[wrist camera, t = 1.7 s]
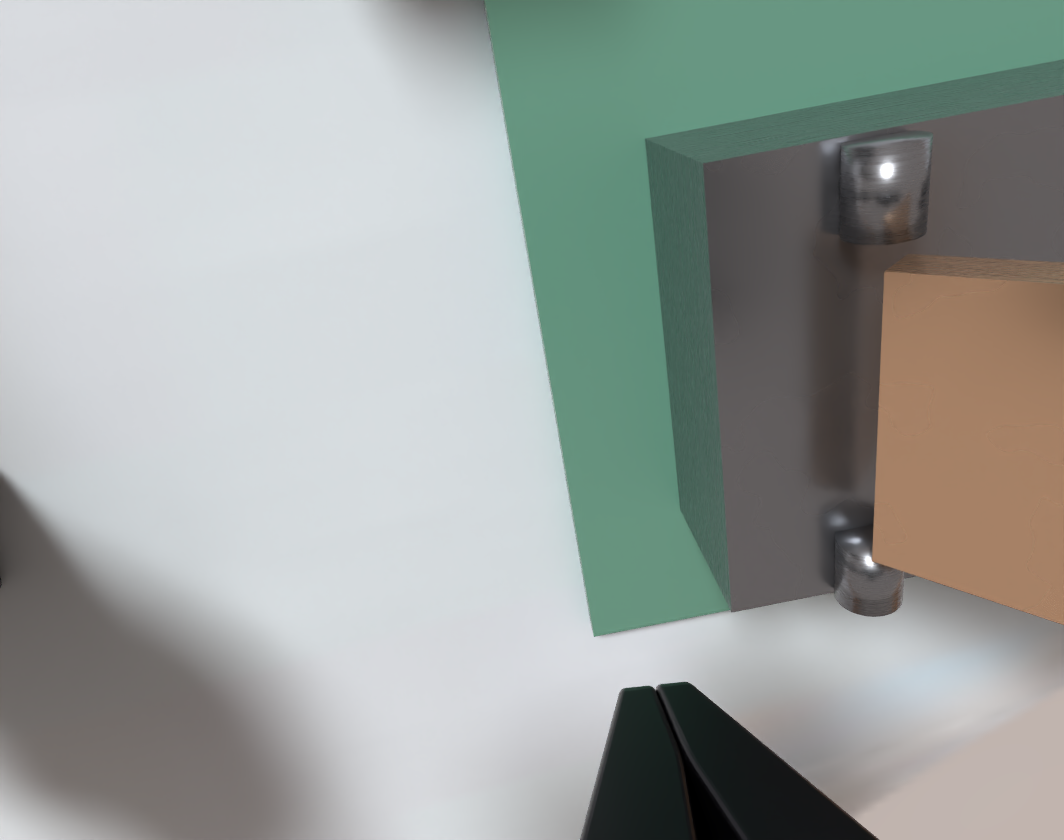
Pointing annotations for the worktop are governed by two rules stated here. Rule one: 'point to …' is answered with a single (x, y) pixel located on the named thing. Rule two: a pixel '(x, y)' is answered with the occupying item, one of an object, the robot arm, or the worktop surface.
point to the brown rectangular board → (973, 428)
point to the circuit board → (627, 227)
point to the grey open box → (825, 304)
